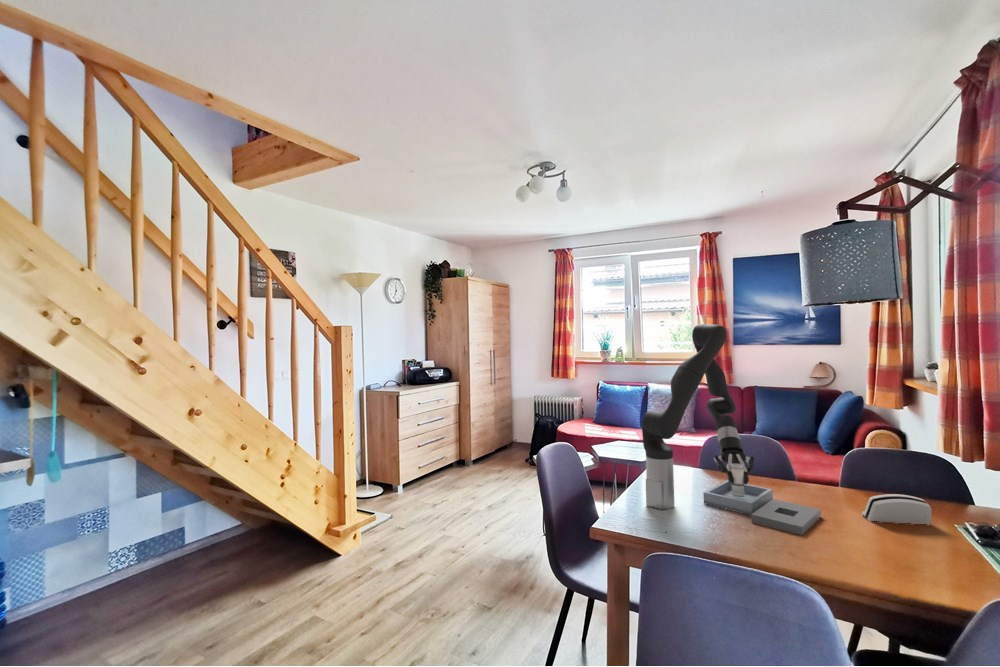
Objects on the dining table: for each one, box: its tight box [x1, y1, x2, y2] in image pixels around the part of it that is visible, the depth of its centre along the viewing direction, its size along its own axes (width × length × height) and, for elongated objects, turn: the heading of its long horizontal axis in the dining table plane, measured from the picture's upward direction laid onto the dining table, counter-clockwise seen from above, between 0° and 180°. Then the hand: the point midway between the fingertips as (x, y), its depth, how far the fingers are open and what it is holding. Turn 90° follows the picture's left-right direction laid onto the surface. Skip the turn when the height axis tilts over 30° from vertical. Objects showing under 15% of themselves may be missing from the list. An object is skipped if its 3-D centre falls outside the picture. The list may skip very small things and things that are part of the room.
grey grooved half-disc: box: [861, 493, 933, 525], centre depth 144 cm, size 17×5×10 cm, turn 76°
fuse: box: [731, 463, 745, 497], centre depth 164 cm, size 4×4×11 cm
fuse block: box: [750, 498, 822, 536], centre depth 147 cm, size 20×14×2 cm
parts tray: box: [702, 479, 774, 516], centre depth 164 cm, size 20×16×4 cm
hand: (739, 482), depth 162 cm, fingers closed on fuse, 4 cm apart
